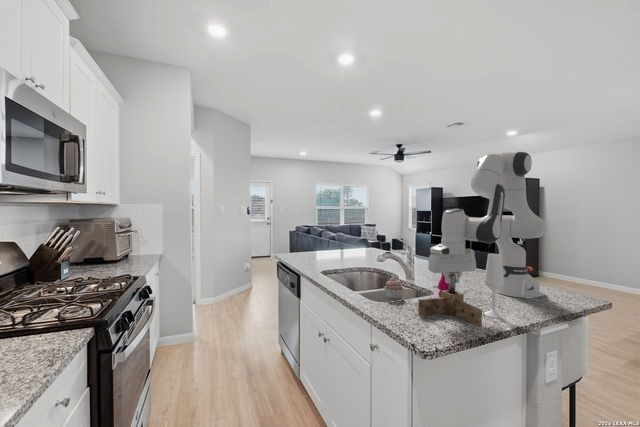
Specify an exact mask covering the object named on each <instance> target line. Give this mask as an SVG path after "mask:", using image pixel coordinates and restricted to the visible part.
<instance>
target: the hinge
mask: <svg viewBox="0 0 640 427" xmlns="http://www.w3.org/2000/svg"><path fill="white" fill-rule="evenodd" d="M464 295H465V294H464V293H462V292H459V291H457V290H455V294H450V293H449V290H444V291H441V297H433V298H422V299H421V298H419V299H418V303H417V304H418V308H417V312H418V315H419V316H426V315H427V316H428V315H438V314H447V315H449V316H454V315H455V316H457V317H460V318H462V319H464V320H466V321H467V322H469V323H471V324H474V325H475V326H477V327H482V326H483V325H482V324H483V322H482V320H483V309H482V308H479V307H477V306H474V305H472V304H469V303H467V302H465V301H464ZM418 315H417V316H418Z"/></svg>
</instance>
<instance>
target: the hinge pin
mask: <svg viewBox="0 0 640 427" xmlns="http://www.w3.org/2000/svg"><path fill="white" fill-rule="evenodd" d="M456 274H457V273H456V272H449V279H451V283H449V293H450V294H455V291H456V286H457V285H456V284H457V283H456Z"/></svg>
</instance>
